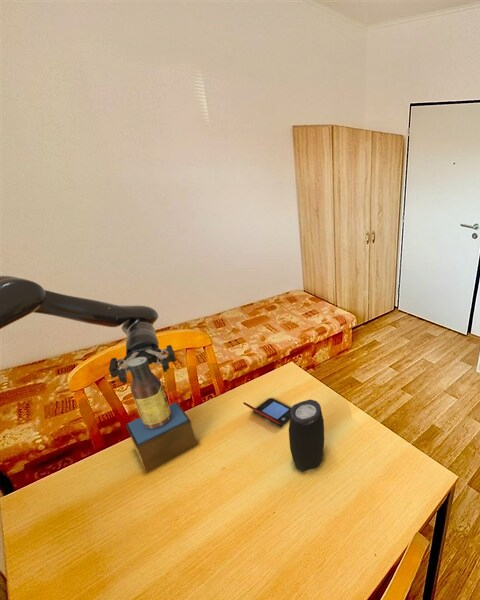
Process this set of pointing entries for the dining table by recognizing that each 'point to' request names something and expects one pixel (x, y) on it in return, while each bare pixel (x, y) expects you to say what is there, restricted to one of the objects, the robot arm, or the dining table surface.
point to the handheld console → (273, 411)
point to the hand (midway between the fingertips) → (145, 374)
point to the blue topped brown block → (165, 445)
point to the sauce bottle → (148, 394)
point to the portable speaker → (306, 434)
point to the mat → (146, 433)
